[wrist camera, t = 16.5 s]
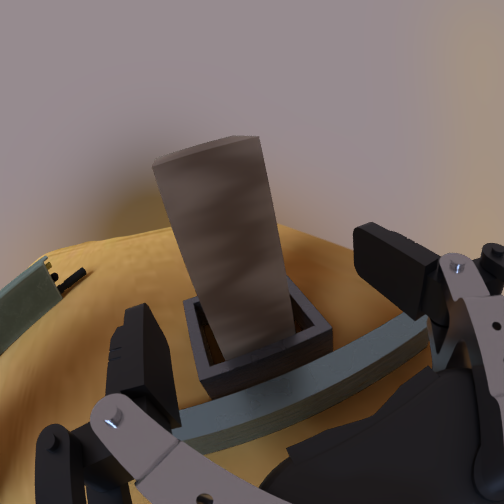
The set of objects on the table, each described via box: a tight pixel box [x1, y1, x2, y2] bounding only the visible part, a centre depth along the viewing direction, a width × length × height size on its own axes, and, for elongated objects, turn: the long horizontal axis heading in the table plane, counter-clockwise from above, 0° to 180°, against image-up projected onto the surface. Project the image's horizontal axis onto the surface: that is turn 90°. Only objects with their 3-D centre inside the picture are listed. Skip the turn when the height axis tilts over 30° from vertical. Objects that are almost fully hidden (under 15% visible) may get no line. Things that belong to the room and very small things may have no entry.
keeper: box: [172, 275, 429, 455], centre depth 18 cm, size 22×12×2 cm, turn 108°
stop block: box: [152, 136, 296, 361], centre depth 17 cm, size 5×5×14 cm
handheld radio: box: [0, 256, 86, 355], centre depth 26 cm, size 7×3×25 cm
